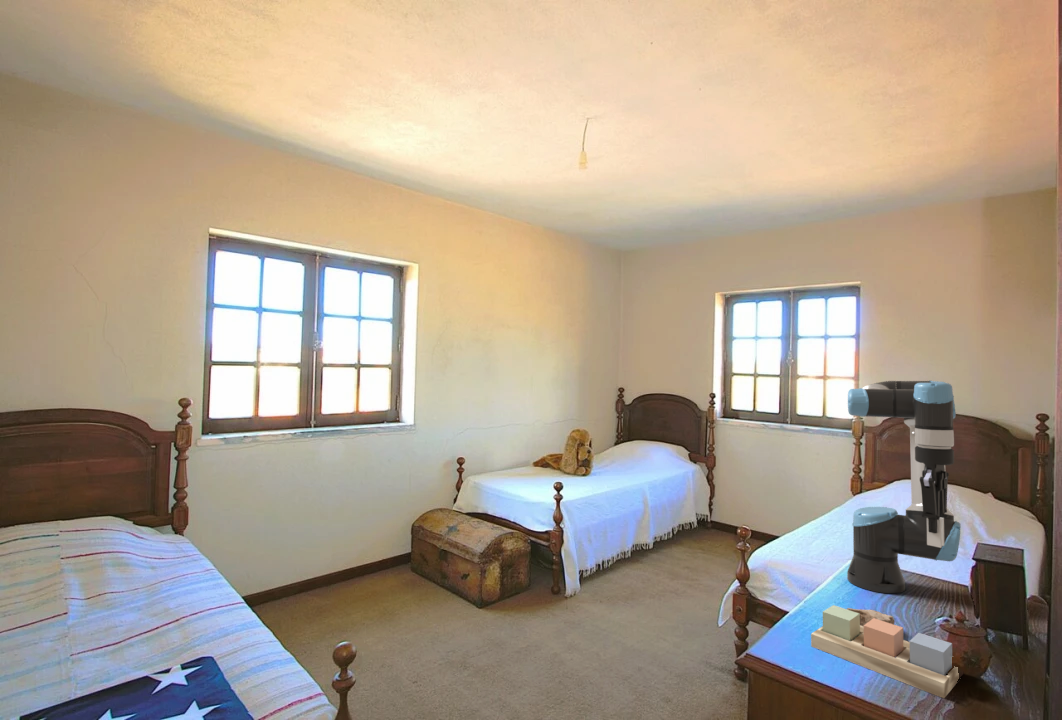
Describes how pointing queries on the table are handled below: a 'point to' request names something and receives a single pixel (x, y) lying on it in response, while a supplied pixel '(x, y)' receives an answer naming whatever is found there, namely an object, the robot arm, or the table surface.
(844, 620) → the sage block
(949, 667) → the slate block
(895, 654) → the terracotta block
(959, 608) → the table surface
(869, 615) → the stone
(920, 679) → the socket board
